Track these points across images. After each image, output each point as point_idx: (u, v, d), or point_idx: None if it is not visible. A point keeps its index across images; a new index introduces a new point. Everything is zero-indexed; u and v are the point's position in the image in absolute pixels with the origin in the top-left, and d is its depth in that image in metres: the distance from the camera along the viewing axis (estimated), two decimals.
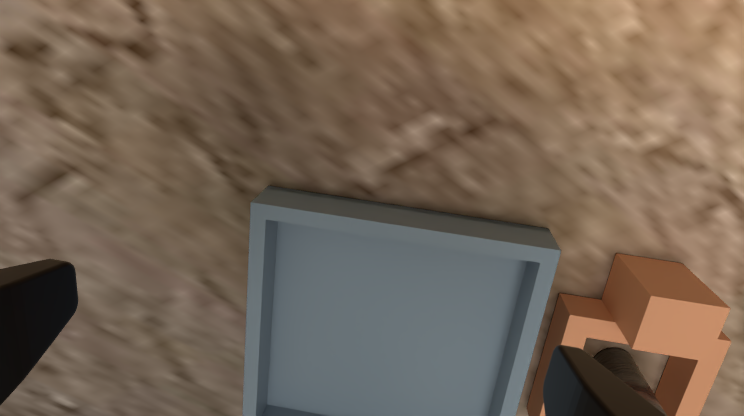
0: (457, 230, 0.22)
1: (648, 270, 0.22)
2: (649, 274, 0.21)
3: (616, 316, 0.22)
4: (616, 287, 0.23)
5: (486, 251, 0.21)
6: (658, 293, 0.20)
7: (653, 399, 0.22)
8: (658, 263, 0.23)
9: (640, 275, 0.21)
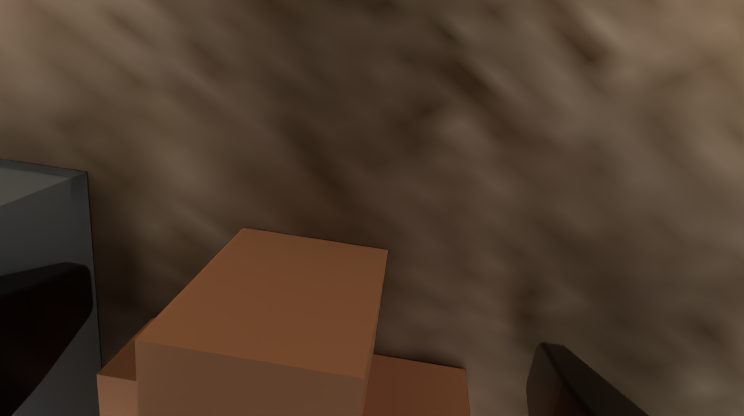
0: None
1: (263, 264, 0.09)
2: (247, 275, 0.08)
3: None
4: None
5: None
6: (175, 330, 0.07)
7: None
8: (323, 248, 0.10)
9: (213, 277, 0.08)
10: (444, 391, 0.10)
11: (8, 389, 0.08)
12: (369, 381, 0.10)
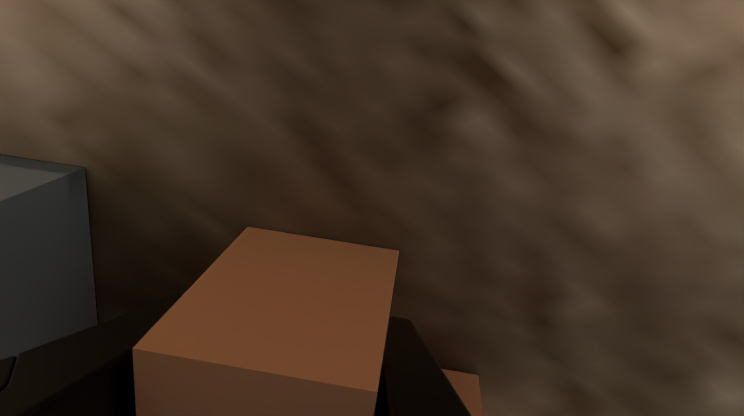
0: None
1: (269, 266, 0.08)
2: (252, 277, 0.08)
3: None
4: None
5: None
6: (176, 338, 0.06)
7: None
8: (331, 248, 0.09)
9: (216, 280, 0.08)
10: None
11: None
12: None
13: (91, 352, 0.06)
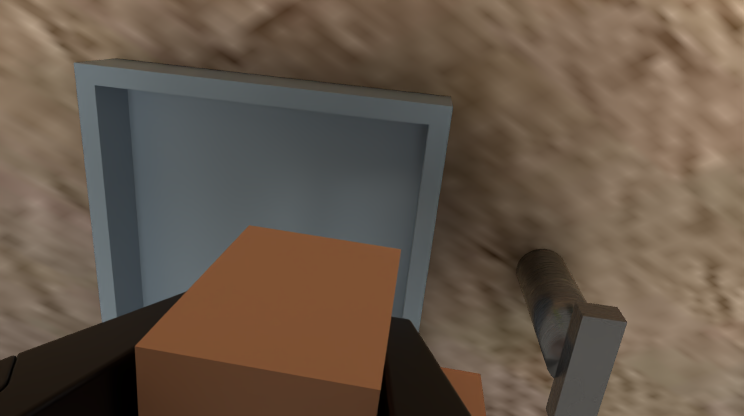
0: (328, 90, 0.17)
1: (271, 264, 0.08)
2: (254, 276, 0.08)
3: None
4: None
5: (362, 112, 0.17)
6: (178, 336, 0.06)
7: (576, 295, 0.17)
8: (333, 247, 0.09)
9: (219, 278, 0.08)
10: None
11: None
12: None
13: (91, 352, 0.06)
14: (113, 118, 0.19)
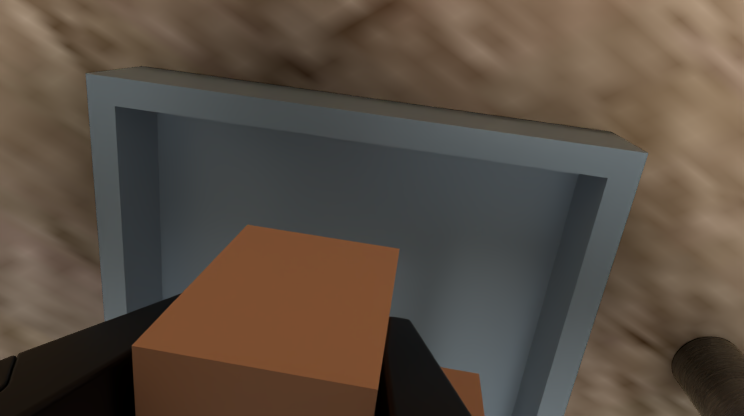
0: (455, 122, 0.12)
1: (269, 264, 0.08)
2: (252, 275, 0.08)
3: None
4: None
5: (508, 157, 0.12)
6: (175, 336, 0.06)
7: None
8: (331, 247, 0.09)
9: (216, 277, 0.08)
10: None
11: None
12: None
13: (91, 352, 0.06)
14: (138, 150, 0.14)
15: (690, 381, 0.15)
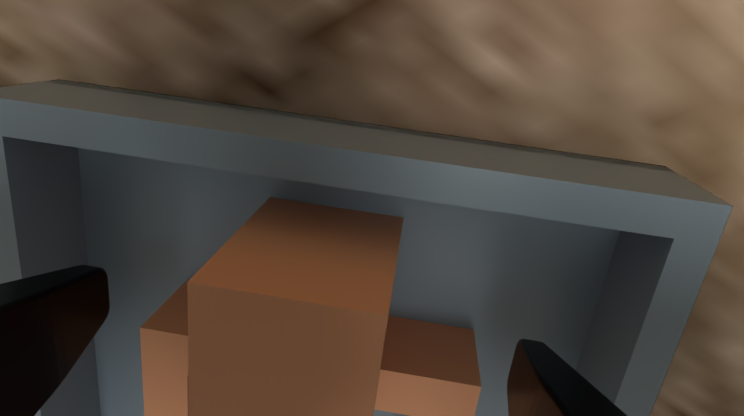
0: (462, 159, 0.09)
1: (292, 227, 0.10)
2: (278, 235, 0.09)
3: None
4: None
5: (536, 210, 0.08)
6: (221, 276, 0.08)
7: None
8: (344, 215, 0.11)
9: (249, 236, 0.09)
10: (454, 347, 0.11)
11: (28, 393, 0.08)
12: (386, 337, 0.11)
13: None
14: (47, 190, 0.11)
15: None
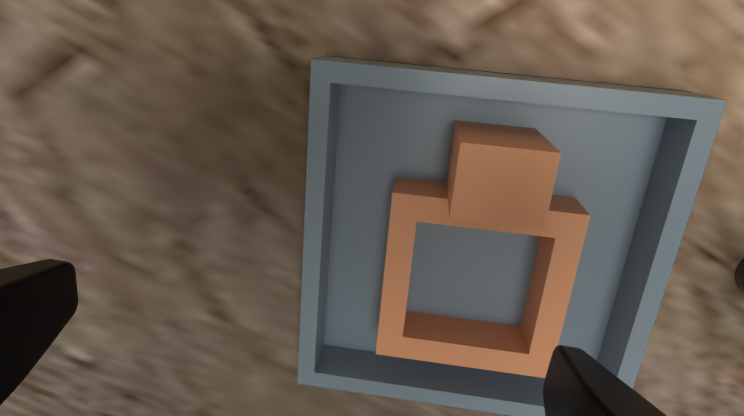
0: (582, 85, 0.17)
1: (482, 129, 0.18)
2: (479, 131, 0.17)
3: (448, 191, 0.18)
4: (451, 158, 0.18)
5: (624, 108, 0.16)
6: (472, 141, 0.15)
7: None
8: (503, 126, 0.18)
9: (465, 131, 0.17)
10: (568, 202, 0.19)
11: None
12: None
13: None
14: (333, 118, 0.18)
15: None
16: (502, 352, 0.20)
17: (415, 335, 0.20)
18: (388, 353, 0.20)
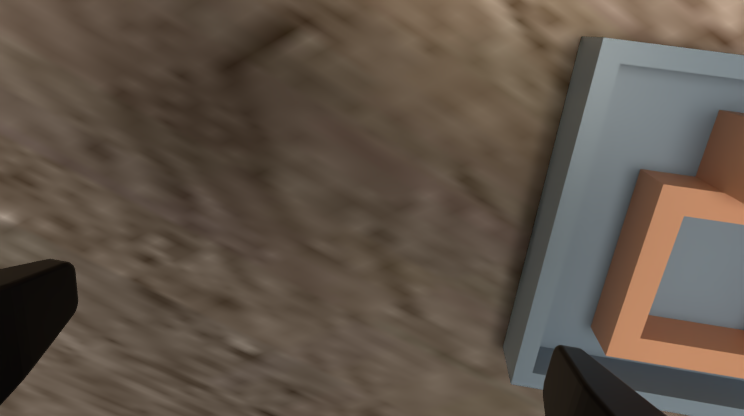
0: None
1: None
2: None
3: (726, 185, 0.17)
4: (723, 150, 0.17)
5: None
6: None
7: None
8: None
9: None
10: None
11: None
12: None
13: None
14: None
15: None
16: None
17: (651, 337, 0.19)
18: (620, 355, 0.19)
